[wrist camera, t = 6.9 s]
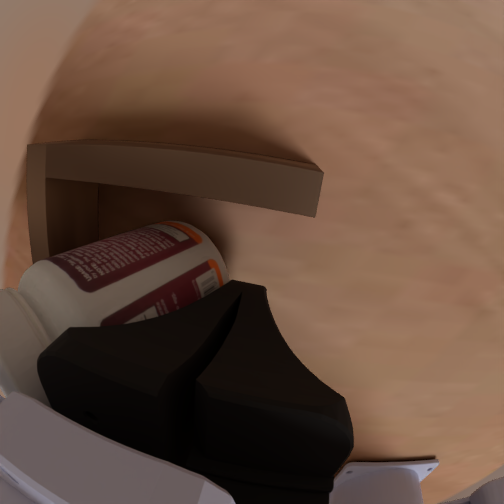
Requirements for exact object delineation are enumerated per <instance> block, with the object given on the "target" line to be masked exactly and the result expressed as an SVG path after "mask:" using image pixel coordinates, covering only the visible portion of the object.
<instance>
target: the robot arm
mask: <svg viewBox="0 0 504 504" xmlns="http://www.w3.org/2000/svg"><path fill="white" fill-rule="evenodd" d="M266 291H267V289H266V288H265V287H264V286H261V285H256V284H251V283H246V282H241V281H236V280H231V281H229V282H227V283H226V284H224V285H223V286H221V287H219V288H218V289H216V290H215V291H213V292H211V293H210V294H208V295H206V296H205V297H203V298H201V299H199V300H197V301H195V302H193V303H191V304H189V305H187V306H185V307H183V308H180V309H178V310H175V311H173V312H170V313H167V314H164V315H161V316H158V317H154V318H150V319H146V320H142V321H138V322H133V323H127V324H120V325H112V326H100V327H69V328H68V329H67V330H65V331H64V332H63V333H62V334H61V335H60V336H59V337H58V338H57V339H56V340H54V341H53V342H52V343H51V344H50V345H49V346H48V347H47V348H46V349H45V350H44V351H43V352H42V353H40V355H39V357H38V359H37V372H38V376H39V379H40V382H41V384H42V387H43V389H44V391H45V394H46V396H47V398H48V401H49V403H50V405H51V407H52V409H51V408H49V407H48V406H46V405H44V404H43V403H41V402H39V401H38V400H36V399H34V398H32V397H29V396H27V395H25V394H23V393H21V392H16V391H13V392H12V393H10V394H9V395H8V396H7V397H6V398H3V397H2V396H1V395H0V504H424V503H423V497H422V492H421V486H420V482H421V481H422V480H423V479H424V478H425V477H426V476H427V475H428V474H430V473H431V472H432V471H433V470H434V469H435V468H436V467H437V466H438V465H439V460H438V459H433V460H422V461H406V462H350V463H348V464H346V465H345V466H344V468H343V469H342V470H341V471H340V473H339V474H338V475H337V476H336V477H335V478H334V475H335V473H336V472H337V471H338V470H339V468H340V467H341V466H342V464H343V463H344V462H345V461H346V459H347V458H348V457H349V455H350V453H351V451H352V449H353V447H354V436H353V427H352V422H351V418H350V414H349V411H348V407H347V404H346V401H345V398H344V397H343V396H341V395H340V394H338V393H337V392H336V391H334V390H333V389H331V388H330V387H329V386H327V385H326V384H324V383H323V382H322V381H321V380H319V379H318V378H317V377H316V376H315V375H314V374H313V373H312V372H310V371H309V370H308V369H307V368H306V367H305V366H304V365H303V364H302V362H301V361H300V360H299V359H298V358H297V357H296V356H295V354H294V353H293V352H292V351H291V349H290V348H289V346H288V345H287V343H286V342H285V340H284V338H283V337H282V335H281V333H280V331H279V329H278V327H277V325H276V323H275V321H274V318H273V316H272V313H271V310H270V307H269V304H268V300H267V294H266ZM439 504H504V477H501V478H498V479H495V480H492V481H489V482H487V483H486V484H484V485H482V486H481V487H479V488H478V489H477V490H476V491H474V492H473V493H472V494H471V496H470V497H466V498H462V499H458V500H454V501H449V502H445V503H439Z"/></svg>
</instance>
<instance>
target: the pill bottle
mask: <svg viewBox="0 0 504 504" xmlns="http://www.w3.org/2000/svg"><path fill="white" fill-rule="evenodd" d="M227 282H229V275H228V272H227V268H226V265H225V263H224V261H223V258H222V256H221V254H220V253H219V251H218V249H217V248H216V246H215V245H214V244H213V243H212V241H211V240H210V238H209V237H208V236H207V235H206V234H204V233H203V232H202V231H200V230H199V229H197V228H195V227H194V226H192V225H190V224H187V223H185V222H180V221H173V220H169V221H163V222H159V223H156V224H152V225H148V226H145V227H142V228H139V229H135V230H132V231H129V232H126V233H122V234H118V235H116V236H113V237H109V238H106V239H103V240H100V241H97V242H94V243H91V244H88V245H85V246H82V247H79V248H76V249H73V250H70V251H67V252H64V253H62V254H58V255H55V256H52V257H48V258H45V259H43V260H40V261H38V262H36V263H35V264H33V265H31V266H30V267H29V268H28V269H27V270H26V271H25V272H24V274H23V276H22V277H21V280H20V282H19V287H18V292H17V291H16V290H15V289H13V288H6V289H5V290H3V289H0V388H1V390H2V392H3V393H4V395H5V397H7V396H8V395H9V394H10V393H12V392H13V391H16V392H21V393H23V394H25V395H27V396H29V397H32V398H34V399H36V400H38V401H39V402H41V403H43V404H44V405H46V406H48V407H49V408H51V409H52V407H51V405H50V403H49V401H48V398H47V396H46V394H45V391H44V389H43V387H42V384H41V382H40V379H39V376H38V372H37V359H38V357H39V355H40V353H42V352H43V351H44V350H45V349H46V348H47V347H48V346H49V345H50V344H51V343H52V342H53V341H54V340H56V339H57V338H58V337H59V336H60V335H61V334H62V333H63V332H64V331H65V330H67V329H68V328H69V327H100V326H112V325H120V324H127V323H133V322H138V321H142V320H146V319H150V318H154V317H158V316H161V315H164V314H167V313H170V312H173V311H175V310H178V309H180V308H183V307H185V306H187V305H189V304H191V303H193V302H195V301H197V300H199V299H201V298H203V297H205V296H206V295H208V294H210V293H211V292H213V291H215V290H216V289H218V288H219V287H221V286H223V285H224V284H226V283H227Z"/></svg>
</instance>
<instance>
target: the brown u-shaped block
mask: <svg viewBox="0 0 504 504" xmlns="http://www.w3.org/2000/svg"><path fill="white" fill-rule="evenodd" d="M323 175H324V172H323V171H322V170H321V169H320V168H319V167H318V166H317V165H314V164H309V163H304V162H299V161H294V160H288V159H282V158H277V157H271V156H265V155H258V154H252V153H245V152H238V151H231V150H223V149H215V148H207V147H198V146H188V145H177V144H166V143H153V142H137V141H117V140H70V141H58V142H48V143H38V144H30V145H27V210H28V225H29V236H30V245H31V254H32V261H33V264H35V263H36V262H38V261H40V260H43V259H45V258H48V257H52V256H55V255H58V254H62V253H64V252H67V251H70V250H73V249H76V248H79V247H82V246H85V245H88V244H91V243H94V242H97V241H98V183H102V184H111V185H119V186H127V187H134V188H142V189H149V190H156V191H163V192H170V193H177V194H184V195H190V196H196V197H203V198H209V199H215V200H221V201H227V202H233V203H239V204H245V205H250V206H256V207H261V208H267V209H272V210H278V211H283V212H288V213H293V214H299V215H304V216H309V217H314V218H315V215H316V211H317V206H318V201H319V196H320V191H321V185H322V180H323Z"/></svg>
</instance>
